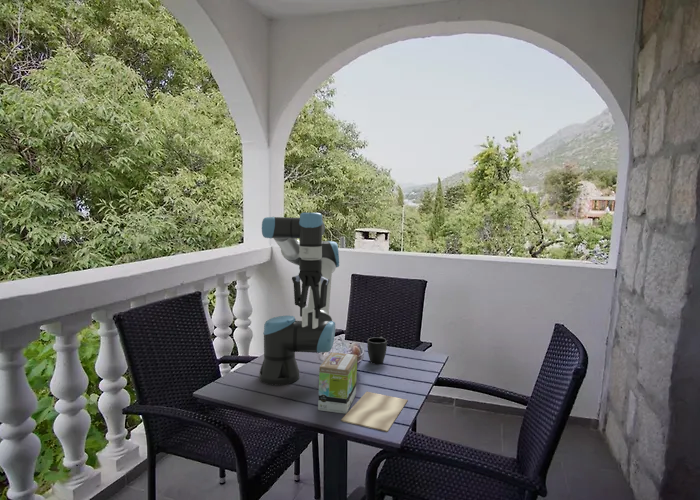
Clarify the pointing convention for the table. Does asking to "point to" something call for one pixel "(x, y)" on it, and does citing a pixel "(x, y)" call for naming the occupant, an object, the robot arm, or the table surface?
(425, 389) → the table surface
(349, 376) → the tea box
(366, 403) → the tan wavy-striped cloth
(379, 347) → the mug
